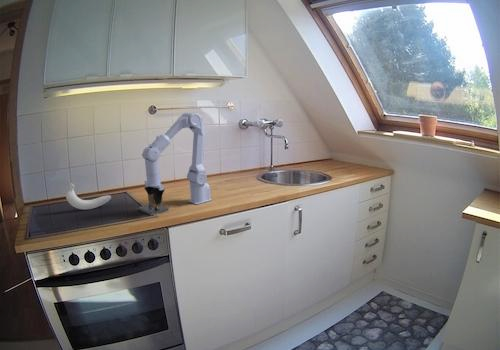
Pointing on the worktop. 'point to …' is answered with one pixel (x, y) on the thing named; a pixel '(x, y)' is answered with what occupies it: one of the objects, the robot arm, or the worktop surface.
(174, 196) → the worktop surface
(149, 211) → the pin plate
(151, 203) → the hollow block
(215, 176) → the worktop surface
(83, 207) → the banana
